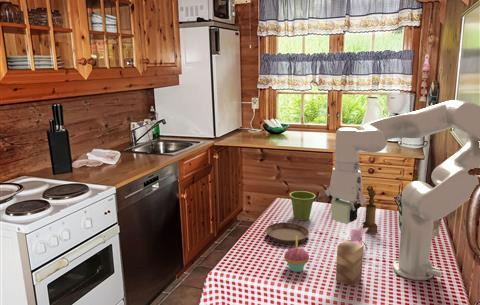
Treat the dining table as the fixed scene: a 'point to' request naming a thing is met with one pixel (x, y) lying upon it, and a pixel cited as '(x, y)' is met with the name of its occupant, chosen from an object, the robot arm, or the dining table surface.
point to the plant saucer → (287, 232)
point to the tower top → (350, 254)
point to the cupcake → (296, 258)
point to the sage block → (341, 211)
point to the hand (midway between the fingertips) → (344, 217)
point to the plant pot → (302, 204)
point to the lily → (358, 235)
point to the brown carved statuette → (370, 214)
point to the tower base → (348, 274)
